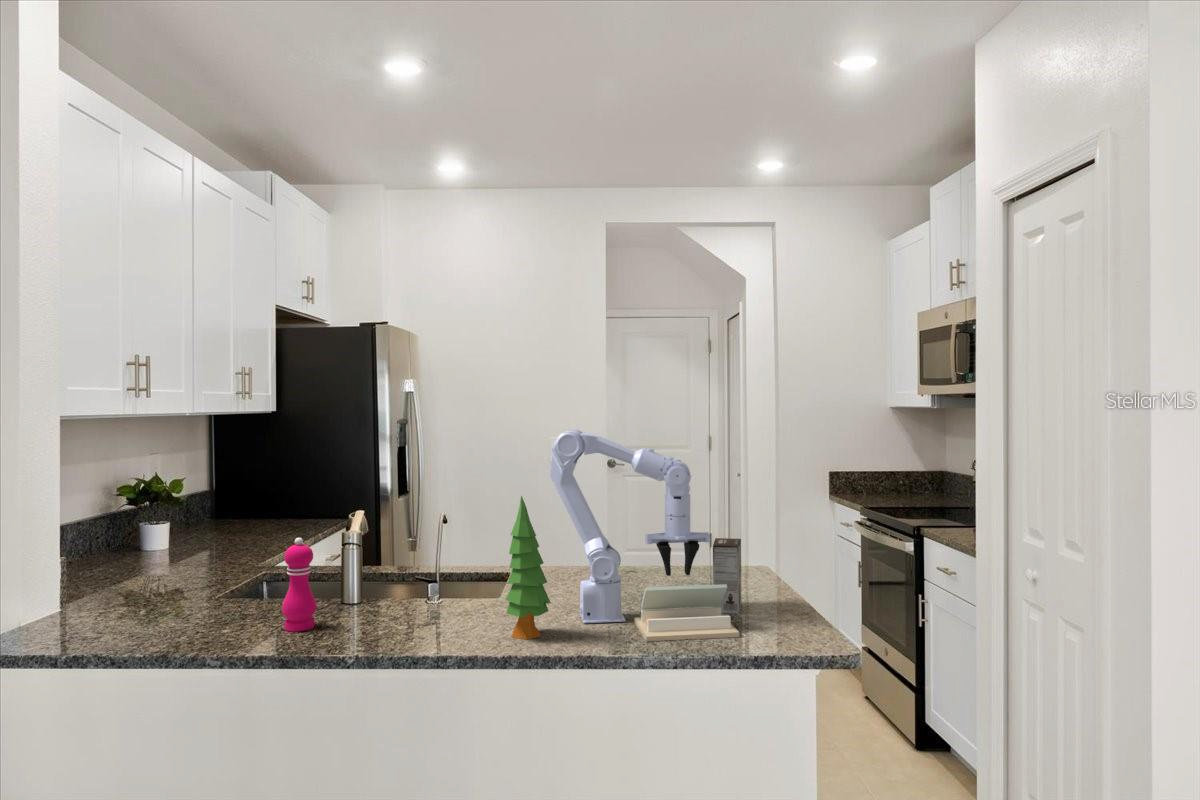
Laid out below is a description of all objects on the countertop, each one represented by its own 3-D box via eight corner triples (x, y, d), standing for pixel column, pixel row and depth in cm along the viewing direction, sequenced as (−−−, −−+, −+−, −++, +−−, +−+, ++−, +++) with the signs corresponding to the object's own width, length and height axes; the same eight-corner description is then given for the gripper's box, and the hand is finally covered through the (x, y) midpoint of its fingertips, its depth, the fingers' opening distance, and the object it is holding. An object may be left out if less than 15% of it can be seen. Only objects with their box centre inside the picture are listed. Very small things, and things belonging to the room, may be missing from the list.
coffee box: (715, 602, 199) (714, 537, 199) (741, 603, 198) (741, 538, 197) (712, 612, 190) (712, 544, 190) (740, 614, 189) (740, 545, 188)
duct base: (646, 641, 169) (646, 624, 169) (634, 622, 183) (634, 606, 183) (739, 637, 171) (739, 620, 171) (720, 618, 185) (720, 603, 185)
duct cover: (646, 590, 174) (645, 587, 175) (641, 609, 180) (640, 606, 180) (727, 587, 176) (726, 584, 177) (720, 606, 182) (719, 603, 183)
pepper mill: (284, 634, 175) (283, 541, 174) (280, 625, 181) (279, 536, 181) (319, 629, 178) (318, 538, 178) (314, 621, 184) (313, 533, 184)
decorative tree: (510, 628, 178) (509, 492, 178) (552, 628, 178) (552, 492, 178) (503, 642, 169) (502, 498, 168) (548, 642, 168) (548, 498, 168)
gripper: (649, 518, 179) (649, 579, 179) (713, 516, 181) (713, 577, 181) (643, 513, 186) (643, 572, 186) (705, 511, 188) (705, 570, 188)
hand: (677, 574), depth 184 cm, fingers open, 4 cm apart
